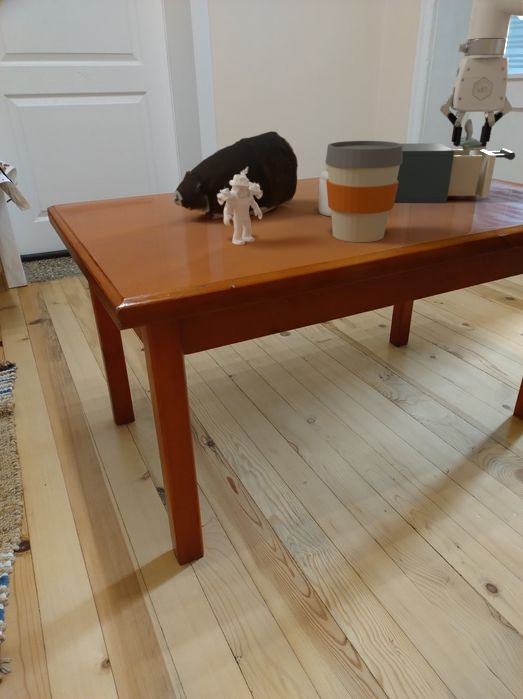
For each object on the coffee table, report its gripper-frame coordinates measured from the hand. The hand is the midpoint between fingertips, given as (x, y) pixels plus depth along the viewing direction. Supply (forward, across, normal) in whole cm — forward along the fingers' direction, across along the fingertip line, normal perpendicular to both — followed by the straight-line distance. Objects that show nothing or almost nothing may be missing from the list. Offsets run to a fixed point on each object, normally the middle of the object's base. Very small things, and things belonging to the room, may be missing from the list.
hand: (469, 144), depth 112 cm
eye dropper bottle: (+11, -31, -18) cm, 37 cm away
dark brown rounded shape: (+11, -51, -18) cm, 55 cm away
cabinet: (+11, -13, 0) cm, 17 cm away
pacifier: (+1, +1, 0) cm, 1 cm away
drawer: (+10, -1, 0) cm, 10 cm away
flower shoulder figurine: (+11, -46, -39) cm, 61 cm away
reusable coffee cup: (+11, -26, -34) cm, 44 cm away
